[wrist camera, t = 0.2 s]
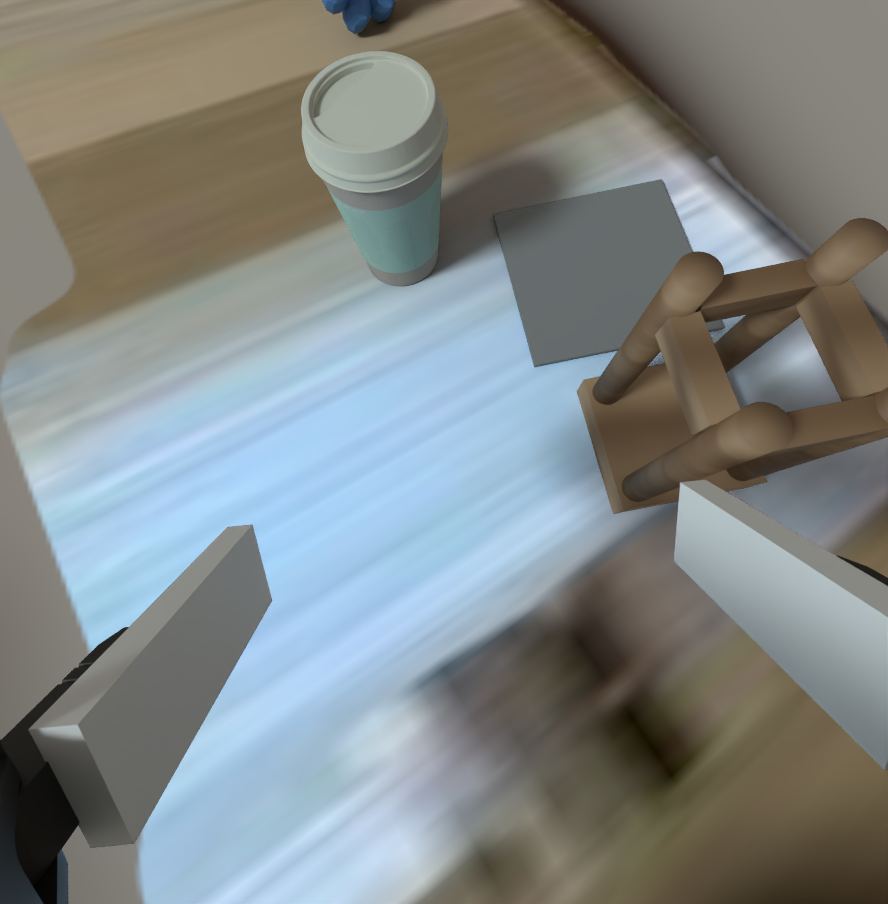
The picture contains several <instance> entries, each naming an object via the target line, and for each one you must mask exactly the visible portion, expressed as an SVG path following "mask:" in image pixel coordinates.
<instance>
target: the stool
mask: <svg viewBox="0 0 888 904" xmlns="http://www.w3.org/2000/svg"><path fill="white" fill-rule="evenodd" d="M887 250H888V231H887V229H886V228H885V227H884V226H882V225H881V224H880V223H878V222H876V221H874V220H871V219H865V218H858V219H853V220H850V221H849V222H847V223H846V224H845V225H844V226H843V227H841V228H840V229H839V230H838V231H837V232H836V233H835V234H834V235H833V236H832V237H830V238H829V239H828V240H827V241H826V242H825V243H824V244H823V245H822V246H821V247H820V248H818V249H817V250H816V251H815V252H814V253H813V254H812V255H811V256H810V257H809V258H808V259H806V260H805V261H804V259H800V260H795V261H790V262H785V263H780V264H776V265H771V266H766V267H761V268H756V269H751V270H746V271H741V272H736V273H731V274H726V275H724V270H723V266H722V264H721V263H720V261H719V260H718V259H717V258H715V257H714V256H712V255H710V254H708V253H705V252H691V253H688V254H686V255H684V256H682V257H681V258H680V259H679V261H678V262H677V264H676V265H675V267H674V268H673V270H672V271H671V273H670V274H669V276H668V277H667V279H666V280H665V282H664V283H663V284H662V286H661V287H660V289H659V290H658V292H657V293H656V295H655V296H654V298H653V299H652V301H651V302H650V304H649V305H648V307H647V308H646V310H645V311H644V313H643V314H642V316H641V317H640V319H639V320H638V322H637V323H636V324H635V326H634V327H633V329H632V330H631V332H630V333H629V335H628V336H627V338H626V339H625V341H624V342H623V344H622V345H621V347H620V348H619V350H618V351H617V353H616V354H615V356H614V357H613V359H612V360H611V361H610V363H609V364H608V366H607V367H606V369H605V370H604V372H603V373H602V375H601V376H600V377H595V378H590V379H585V380H583V382H582V383H581V385H580V387H579V388H578V390H577V394H578V397H579V401H580V404H581V407H582V411H583V414H584V417H585V421H586V424H587V427H588V431H589V434H590V438H591V441H592V444H593V448H594V451H595V454H596V458H597V461H598V464H599V468H600V471H601V474H602V478H603V481H604V484H605V488H606V491H607V494H608V498H609V501H610V505H611V508H612V511H613V514H615V513H620V512H626V511H631V510H636V509H641V508H646V507H651V506H656V505H661V504H666V503H671V502H676V501H679V492H680V482H688V481H698V480H707V481H708V482H710V483H712V484H713V485H715V486H717V487H719V488H720V489H722V490H724V491H725V492H727V491H732V490H737V489H743V488H747V487H751V486H754V485H758V484H761V483H765V482H767V480H766V478H765V475H767V474H770V473H773V472H777V471H780V470H783V469H786V468H790V467H793V466H796V465H799V464H802V463H806V462H809V461H812V460H815V459H818V458H822V457H825V456H828V455H831V454H834V453H838V452H841V451H844V450H847V449H850V448H854V447H857V446H860V445H863V444H867V443H870V442H873V441H876V440H879V439H883V438H886V437H888V345H887V343H886V342H885V340H884V338H883V336H882V334H881V332H880V330H879V329H878V327H877V325H876V323H875V321H874V319H873V317H872V315H871V314H870V312H869V310H868V308H867V306H866V304H865V302H864V301H863V299H862V297H861V295H860V293H859V291H858V289H857V288H856V286H855V284H854V282H853V281H848V280H849V279H850V278H852V277H853V276H854V275H856V274H857V273H858V272H859V271H861V270H862V269H863V268H865V267H866V266H867V265H869V264H870V263H871V262H873V261H874V260H875V259H877V258H878V257H879V256H880V255H882V254H883V253H884V252H886V251H887ZM846 281H848V282H846ZM746 314H747V315H746ZM741 315H745V316H744V317H743V318H742V319H741V320H740V321H739V322H738V323H737V324H736V325H735V326H733V327H732V328H731V329H730V330H729V331H728V332H727V333H726V334H725V335H724V336H723V337H722V338H720V339H719V340H718V341H717V342H716V343H715V344H714V343H713V340H712V338H711V335H710V333H709V331H708V328H707V326H706V323H707V322H712V321H717V320H722V319H727V318H732V317H737V316H741ZM800 316H801V318H802V320H803V322H804V324H805V326H806V328H807V330H808V332H809V334H810V336H811V338H812V341H813V343H814V345H815V347H816V349H817V351H818V353H819V355H820V357H821V359H822V361H823V363H824V365H825V367H826V369H827V371H828V374H829V376H830V378H831V380H832V382H833V384H834V386H835V388H836V390H837V392H838V394H839V396H840V398H841V400H842V402H837V403H832V404H827V405H822V406H817V407H812V408H807V409H802V410H797V411H792V412H787V413H785V412H784V411H783V410H782V409H780V408H779V407H777V406H775V405H773V404H770V403H766V402H756V403H752V404H750V405H748V406H746V407H745V408H743V409H740V406H739V404H738V401H737V399H736V396H735V394H734V391H733V389H732V387H731V384H730V382H729V379H728V377H727V374H726V373H727V372H728V371H730V370H731V369H732V368H733V367H735V366H736V365H737V364H739V363H740V362H741V361H743V360H744V359H745V358H747V357H748V356H749V355H751V354H752V353H753V352H754V351H756V350H757V349H758V348H760V347H761V346H762V345H764V344H765V343H766V342H768V341H769V340H770V339H772V338H773V337H774V336H776V335H777V334H778V333H779V332H781V331H782V330H783V329H785V328H786V327H787V326H789V325H790V324H791V323H793V322H794V321H795V320H797V319H798V318H799V317H800ZM660 351H661V353H662V356H663V358H664V361H665V364H660V365H655V366H650V367H647V366H648V365H649V364H650V363H651V362H652V360H653V359H654V358H655V357H656V356H657V355H658V354H659V352H660Z"/></svg>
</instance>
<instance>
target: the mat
mask: <svg viewBox="0 0 888 904" xmlns="http://www.w3.org/2000/svg"><path fill="white" fill-rule="evenodd" d="M493 217H494V221H495V225H496V228H497V232H498V236H499V239H500V243H501V247H502V250H503V254H504V258H505V261H506V265H507V269H508V272H509V276H510V280H511V283H512V287H513V290H514V294H515V298H516V301H517V305H518V309H519V312H520V316H521V320H522V323H523V327H524V331H525V334H526V338H527V342H528V345H529V349H530V353H531V356H532V360H533V364H534V367H538V366H543V365H548V364H553V363H558V362H563V361H568V360H573V359H577V358H582V357H587V356H592V355H597V354H602V353H607V352H612V351H617V350H619V348H620V347H621V345H622V344H623V342H624V341H625V339H626V338H627V336H628V335H629V333H630V332H631V330H632V329H633V327H634V326H635V324H636V323H637V322H638V320H639V319H640V317H641V316H642V314H643V313H644V311H645V310H646V308H647V307H648V305H649V304H650V302H651V301H652V299H653V298H654V296H655V295H656V293H657V292H658V290H659V289H660V287H661V286H662V284H663V283H664V282H665V280H666V279H667V277H668V276H669V274H670V273H671V271H672V270H673V268H674V267H675V265H676V264H677V262H678V261H679V259H680V258H681V257H682V256H684V255H686V254H688V253H691V252H692V250H691V248H690V245H689V243H688V241H687V238H686V236H685V234H684V231H683V229H682V226H681V224H680V222H679V219H678V217H677V215H676V212H675V210H674V208H673V205H672V203H671V200H670V198H669V196H668V193H667V191H666V189H665V186H664V184H663V181H662V179H660V180H656V181H651V182H646V183H641V184H636V185H631V186H627V187H622V188H617V189H612V190H607V191H602V192H597V193H593V194H588V195H583V196H578V197H573V198H568V199H563V200H559V201H554V202H549V203H544V204H539V205H534V206H530V207H525V208H520V209H515V210H510V211H505V212H500V213H496V214H494V215H493ZM706 326H707V328H708V331H709V332H712V331H717V330H721V329H723V328H724V326H723V324H722V321H721V320H717V321H712V322H707V323H706Z"/></svg>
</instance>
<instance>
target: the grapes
mask: <svg viewBox="0 0 888 904" xmlns="http://www.w3.org/2000/svg"><path fill="white" fill-rule="evenodd" d="M322 2H323V4H324V6H325V8H326V10H327V11H329V12H331V13H332V14H337V13H340V12H341V11H342V13H343V19H344V22H345V24H346V26H347V28H348V30H349V31H351V32H353V33H354V34H356V33H361V32H362V31H363V30H364V29H365V28H366V26H367V25H368V23H369V20H370V15H371V16H372V18H373V19H374V20H376V21H377V22H383V21H385V20H386V19H387V18H388V17H389V16H390V15H391V13H392V11H393V9H394V5H395V0H322Z"/></svg>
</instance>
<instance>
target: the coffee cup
mask: <svg viewBox="0 0 888 904" xmlns="http://www.w3.org/2000/svg"><path fill="white" fill-rule="evenodd" d="M301 114H302V122H303V125H302V140H303V144H304V149H305V154H306V157H307V160H308V162H309V164H310V166H311V167H312V169H313V170H314V171H315V172H316V174H317V175H318V176H320V177H321V178H322V179H323V180H324V182H325V184H326V186H327V188H328V190H329V192H330V194H331V196H332V197H333V199H334V201H335V203H336V205H337V207H338V209H339V211H340V213H341V215H342V217H343V218H344V220H345V222H346V224H347V226H348V228H349V230H350V232H351V234H352V236H353V238H354V240H355V241H356V243H357V245H358V247H359V249H360V251H361V253H362V255H363V257H364V258H365V260H366V262H367V264H368V266H369V268H370V270H371V271H372V273H373V274H374V275H375V277H377V278H378V279H379V280H380V281H382V282H384V283H386V284H389V285H394V286H406V285H411V284H414V283H417V282H419V281H421V280H422V279H424V278H425V277H427V276H428V275H429V274H430V273H431V272H432V270H433V269H434V267H435V265H436V263H437V259H438V247H439V227H440V204H441V182H442V159H443V150H444V148H445V145H446V142H447V137H448V122H447V118H446V115H445V109H444V106H443V103H442V101H441V99H440V97H439V95H438V94H437V92H436V89H435V86H434V83H433V80H432V78H431V76H430V75H429V73H428V72H427V71H426V70H425V69H424V68H423V67H422V66H421V65H420V64H419V63H417V62H416V61H414V60H412V59H410V58H409V57H406V56H404V55H400V54H397V53H392V52H384V51H371V52H363V53H358V54H354V55H350V56H347V57H345V58H342V59H340V60H338V61H336V62H334V63H332V64H331V65H329V66H328V67H326V68H325V69H323V70H322V71H321V72H320V73H319V74H318V75H317V76H316V77H315V78H314V79H313V80H312V81H311V83H310V84H309V86H308V88H307V89H306V92H305V94H304V97H303V100H302V106H301Z"/></svg>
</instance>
